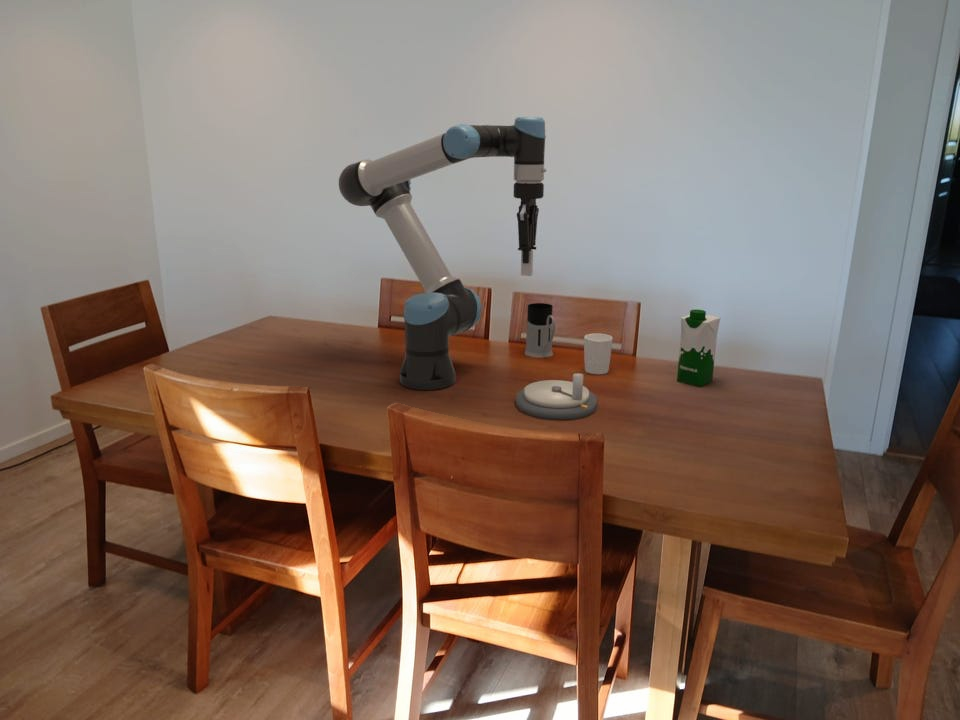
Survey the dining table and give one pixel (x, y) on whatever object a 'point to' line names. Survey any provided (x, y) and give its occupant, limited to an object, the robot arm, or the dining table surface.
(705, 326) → the milk carton
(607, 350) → the white cup
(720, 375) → the dining table surface
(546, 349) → the glass holder
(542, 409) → the stand base
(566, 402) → the cream crank wheel
